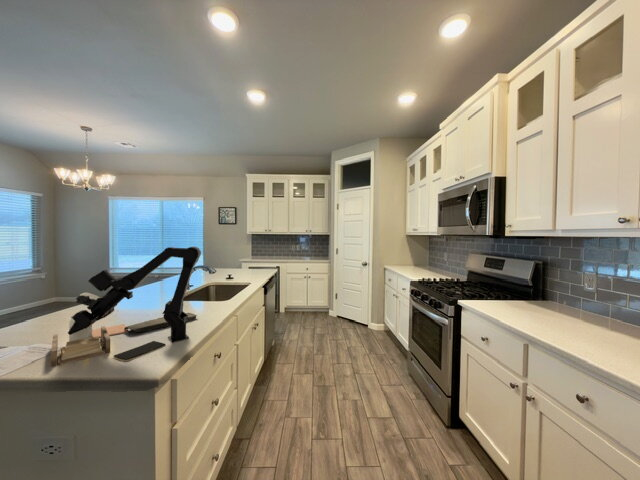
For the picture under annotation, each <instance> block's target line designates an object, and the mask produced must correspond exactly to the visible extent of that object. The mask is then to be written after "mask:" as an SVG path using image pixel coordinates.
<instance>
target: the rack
mask: <svg viewBox="0 0 640 480" xmlns="http://www.w3.org/2000/svg"><path fill="white" fill-rule="evenodd" d="M100 328H101V338H99V336H97V337H91V338H86V339H80V340H75V341H69V340H68V341H66V344H65V346H62V347H60V352H58V345H59V344H58V340H59V339H58V338H59V337H58V334H53V335H52V343H51V351H50V365H51V367H55V366H57V365H58V366H60V365H65V364H68V363H69V364H70V363H73V362H76V361H82V360H85V359H89V358H93V357H94V358H95V357H98V356H101V355H106V354H110V353H111V338H110V337H111V336H109V335H108V332H107V330H106V326H105V325H103V326H100ZM100 340H101V341H100ZM101 342H102V343H101Z"/></svg>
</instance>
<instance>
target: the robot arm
mask: <svg viewBox="0 0 640 480" xmlns="http://www.w3.org/2000/svg"><path fill="white" fill-rule="evenodd" d="M201 255H202V251H201V249H200V248H199V247H197V246H189V247H186V248H184V247H174V246H169V247H166V248H165V249H164V250H163V251H162V252H160V253H159V254H157V255H156V256H155V257H154V258H152V259H151V260H150V261H148V262H146V263H145V264H144V265H143V266H142V267H140V268H138V269H137V270H135V271H132V272H131V273H128V274H127V275H125V276H122V277H118V278H115V277H114V276H113V275H112V274H110V272H109V271H108V270H107V269H103V270H101V272H99V273H96V275H94V276H92V277H91V278H89V279H88V281H87V282H88V283H89V284H90V286H92V287H94V289H96V290H97V291H99V292H103V291H104V292H106V293H105V294H104V295H101V296H99V295H96V294H93V293H90V292H88V291H87V292H82V293H80V294H79V295H78V296H77V297H75V299H76V301H75V303H77V304H81V305H84V306H87V307H86V308H87V309H88V310H89V311H88V310H87V309H83V310H82V309H81V310H80V311H78V312H76V313H75V314H73V315H72V316H71V317H72V318H73V320H74V321H75V322H74V324H73V326H72V327H71V329H70V330H69V329H68V332H67V334H68V336H69V335H71V334H73V333H76V332H78V331H80V330H83V329H85V328H88V327H89V326H91V325H92V326H93V325H94V324H95V323H97V321H100V320H102V319H104V318H107V317H108V316H110V315H111V314H112V313H113V312H115V308H116V307H117V306H118V304H119V303H120V302H121V301H122V300H124V298H125V299H127V300H131V299H132V298H133V297H134V294H133V292H134V291H133V290H134V289H135V288H138V287H139V286H140V285H141V284H143V283H144V281H145V280H146V279H147V277H148V276H149V275H150V274H152V273H153V272H155V270H157V269H158V268H159V267H161V266H162V265H163V264H164V263H166V262H167V261H169V260H170V259H171V258H180V259H182V269H181V272H180V274H179V277H178V281H177V284H176V288H175V291H174V294H173V297H172V299H171V300H169V301H167V302H166V303H165V306H164V310H163V312H162V313H161V314H162V315H163V317H164V319H165V321H167V322H168V324H169V326H168V327H169V328H170V336H167V339H168V340H170V342H172V343H175V342H178V341H183V340H188V339H189V338H190V336H188V334H187V321H186V320H187V318H188V315H187V314H186V313H187V312H184V298H185V296H186V293H187V289H188V286H189V284H190V283H189V282H190V279H191V277H192V273H193V270H194V267H195V266H196V265H197V263H198V261H199V259H200V257H201ZM185 321H186V322H185Z"/></svg>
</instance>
